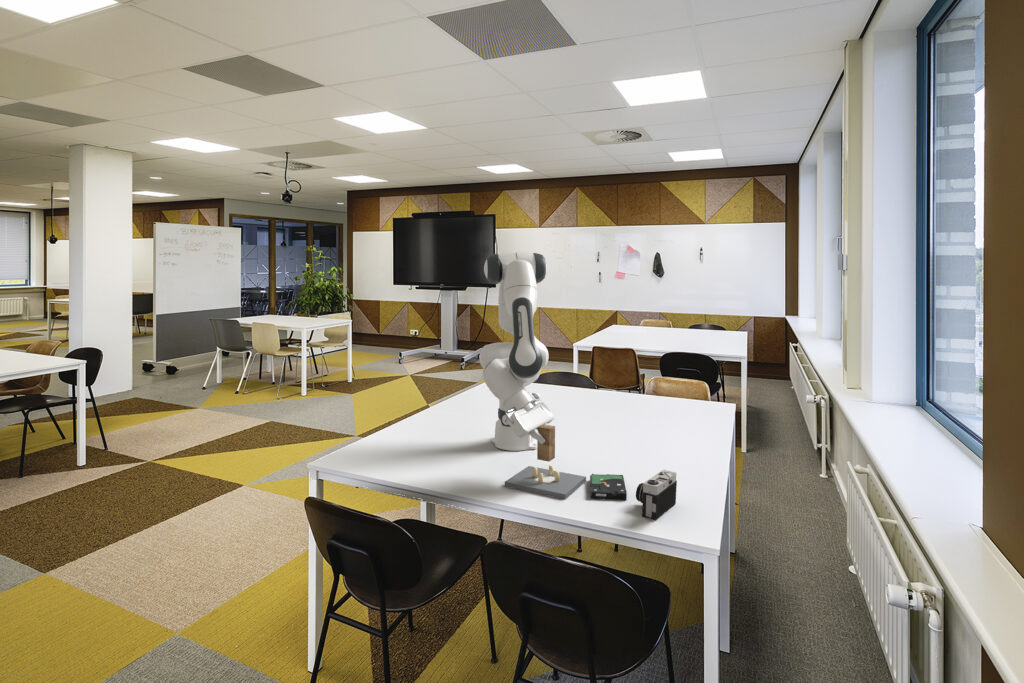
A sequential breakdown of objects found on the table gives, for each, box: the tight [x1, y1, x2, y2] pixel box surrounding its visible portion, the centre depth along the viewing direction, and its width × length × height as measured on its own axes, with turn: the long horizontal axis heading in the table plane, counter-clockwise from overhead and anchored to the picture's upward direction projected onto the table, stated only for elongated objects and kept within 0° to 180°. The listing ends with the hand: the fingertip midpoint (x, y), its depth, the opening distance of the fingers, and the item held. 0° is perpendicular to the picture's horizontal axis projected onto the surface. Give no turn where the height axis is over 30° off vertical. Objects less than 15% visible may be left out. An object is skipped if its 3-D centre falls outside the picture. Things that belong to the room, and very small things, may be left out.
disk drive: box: [589, 473, 628, 501], centre depth 167 cm, size 10×3×15 cm
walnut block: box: [536, 424, 556, 462], centre depth 169 cm, size 4×4×10 cm
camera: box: [635, 469, 678, 522], centre depth 153 cm, size 14×9×10 cm, turn 134°
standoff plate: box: [504, 464, 587, 500], centre depth 171 cm, size 16×20×4 cm
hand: (548, 440), depth 169 cm, fingers closed on walnut block, 4 cm apart
